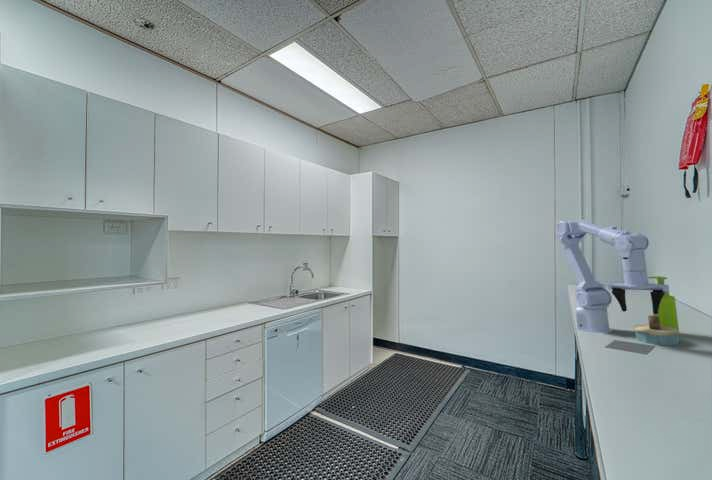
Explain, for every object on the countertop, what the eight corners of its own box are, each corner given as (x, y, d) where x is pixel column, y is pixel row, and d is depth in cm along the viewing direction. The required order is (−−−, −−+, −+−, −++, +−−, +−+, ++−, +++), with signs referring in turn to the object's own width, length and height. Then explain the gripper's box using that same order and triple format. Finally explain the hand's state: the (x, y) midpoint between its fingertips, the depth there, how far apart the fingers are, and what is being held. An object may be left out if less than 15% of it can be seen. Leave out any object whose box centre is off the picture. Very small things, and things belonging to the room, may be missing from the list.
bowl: (632, 342, 101) (631, 331, 101) (641, 335, 106) (640, 325, 106) (674, 348, 93) (673, 336, 93) (681, 340, 98) (680, 330, 98)
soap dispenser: (665, 330, 109) (659, 275, 110) (684, 335, 102) (677, 276, 103) (648, 331, 110) (641, 276, 111) (665, 336, 103) (658, 278, 104)
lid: (629, 331, 101) (627, 317, 101) (639, 325, 106) (637, 311, 107) (673, 337, 92) (671, 321, 92) (682, 330, 98) (680, 315, 98)
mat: (604, 348, 97) (604, 347, 97) (615, 341, 103) (615, 339, 103) (646, 355, 89) (646, 354, 89) (655, 347, 95) (655, 346, 95)
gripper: (602, 271, 102) (607, 311, 102) (662, 272, 90) (668, 317, 90) (610, 269, 106) (614, 308, 106) (668, 269, 94) (673, 313, 94)
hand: (639, 312), depth 98 cm, fingers open, 7 cm apart
